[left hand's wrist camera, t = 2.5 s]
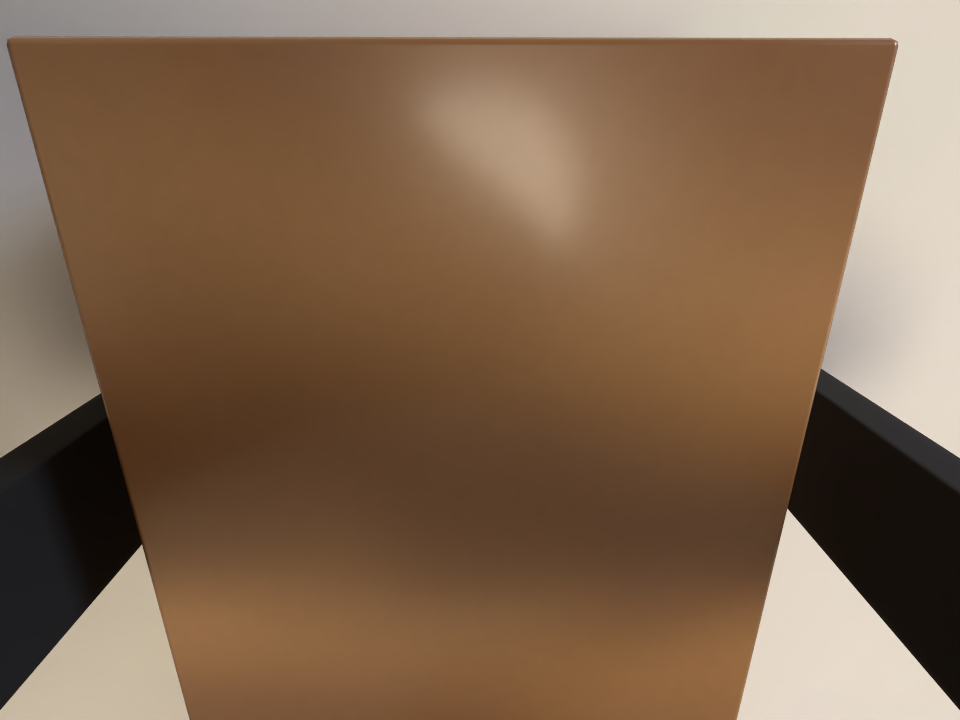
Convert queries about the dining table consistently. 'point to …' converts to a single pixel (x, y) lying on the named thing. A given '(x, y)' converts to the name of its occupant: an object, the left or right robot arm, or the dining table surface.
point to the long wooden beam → (457, 351)
